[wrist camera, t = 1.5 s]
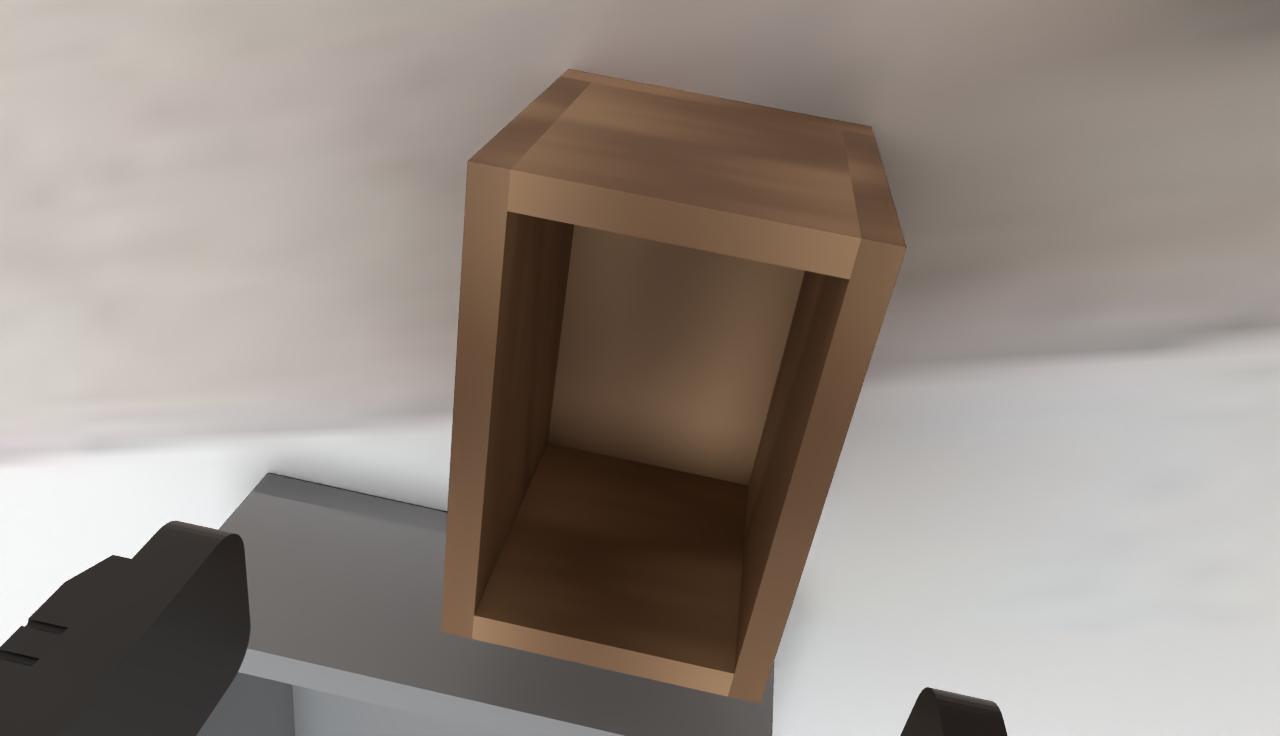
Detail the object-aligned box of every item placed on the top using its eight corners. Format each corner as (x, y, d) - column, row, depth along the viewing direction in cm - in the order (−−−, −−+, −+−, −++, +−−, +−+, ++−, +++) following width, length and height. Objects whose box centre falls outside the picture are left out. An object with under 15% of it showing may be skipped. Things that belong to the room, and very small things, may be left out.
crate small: (870, 125, 18) (906, 247, 12) (769, 490, 22) (760, 703, 17) (570, 68, 18) (467, 161, 12) (529, 439, 23) (441, 631, 17)
